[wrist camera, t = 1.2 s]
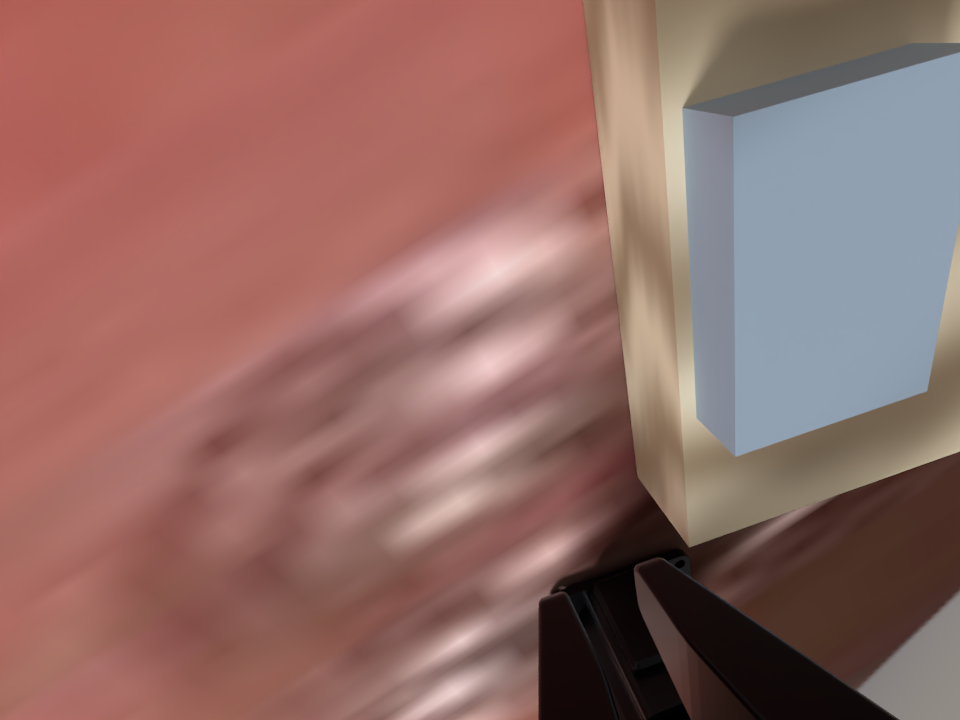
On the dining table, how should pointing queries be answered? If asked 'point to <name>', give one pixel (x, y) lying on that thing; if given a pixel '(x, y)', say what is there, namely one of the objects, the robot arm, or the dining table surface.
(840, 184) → the block
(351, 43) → the dining table surface
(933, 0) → the beige flat block
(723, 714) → the robot arm
